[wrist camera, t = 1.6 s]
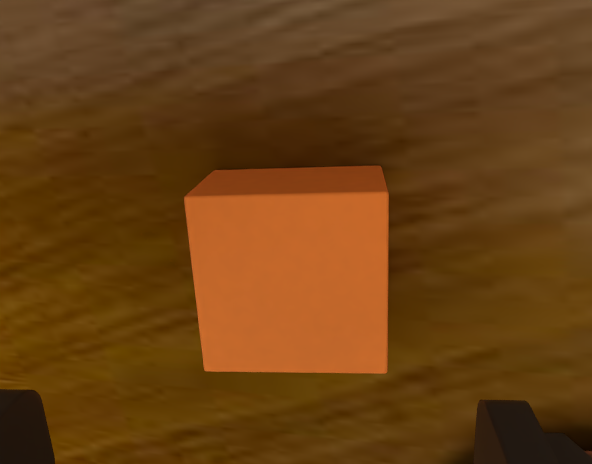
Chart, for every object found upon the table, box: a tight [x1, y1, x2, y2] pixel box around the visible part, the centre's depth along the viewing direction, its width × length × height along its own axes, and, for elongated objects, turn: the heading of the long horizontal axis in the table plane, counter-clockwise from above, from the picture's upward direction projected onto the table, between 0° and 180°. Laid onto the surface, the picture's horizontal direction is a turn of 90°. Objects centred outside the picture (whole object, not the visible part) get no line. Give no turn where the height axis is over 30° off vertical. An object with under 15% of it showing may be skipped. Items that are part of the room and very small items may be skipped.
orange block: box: [184, 165, 389, 373], centre depth 17 cm, size 6×6×4 cm
